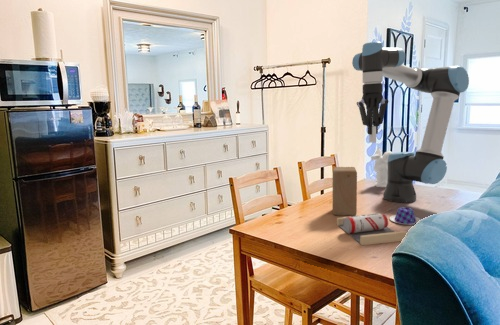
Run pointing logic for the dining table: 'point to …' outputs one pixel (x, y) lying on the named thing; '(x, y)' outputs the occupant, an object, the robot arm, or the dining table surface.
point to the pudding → (405, 216)
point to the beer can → (365, 223)
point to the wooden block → (344, 191)
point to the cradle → (374, 235)
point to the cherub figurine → (381, 167)
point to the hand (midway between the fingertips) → (372, 142)
